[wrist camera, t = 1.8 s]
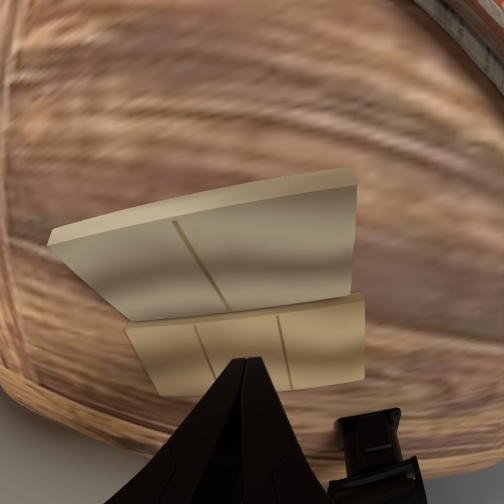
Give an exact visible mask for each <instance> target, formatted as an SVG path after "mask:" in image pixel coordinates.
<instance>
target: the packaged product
mask: <svg viewBox="0 0 504 504" xmlns="http://www.w3.org/2000/svg"><path fill="white" fill-rule="evenodd" d="M413 1H414V2H416V3H417V4H418V5H419V6H420V7H421V8H422V9H423V10H425V11H426V12H427V13H428V14H429V15H430V16H431V17H432V18H433V19H434V20H435V21H436V22H437V23H438V24H439V25H440V26H441V27H442V28H443V29H444V30H445V31H446V32H447V33H448V34H449V35H450V36H451V37H452V38H453V39H454V40H455V41H456V42H457V43H458V44H459V45H460V46H461V47H462V49H463V50H464V51H465V52H466V53H467V55H468V56H469V57H470V58H471V59H472V60H473V61H474V63H475V64H477V65H478V67H479V68H480V69H481V70H482V71H483V72H484V73H485V75H486V76H487V77H488V78H489V79H490V80H491V81H492V82H493V83H494V84H495V86H496V87H497V88H498V90H499V91H500V92H501V94H502V95H503V96H504V0H413Z"/></svg>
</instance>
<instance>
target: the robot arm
mask: <svg viewBox="0 0 504 504" xmlns="http://www.w3.org/2000/svg"><path fill="white" fill-rule="evenodd" d="M400 416H401V410H400V408H394V409H390V410H385V411H380V412H375V413H370V414H365V415H360V416H354V417H348V418H342V419H340V420H339V421H338V438H339V451H344V454H345V463H346V473H347V478H344V479H340V480H332V481H329V488H328V491H327V493H326V491H325V490H324V488H323V487H322V485H321V484H320V482H319V481H318V479H317V478H316V476H315V474H314V473H313V471H312V470H311V468H310V466H309V464H308V462H307V460H306V458H305V456H304V454H303V452H302V449H301V447H300V445H299V443H298V441H297V438H296V436H295V434H294V431H293V429H292V427H291V424H290V422H289V420H288V418H287V415H286V413H285V411H284V408H283V406H282V404H281V401H280V399H279V397H278V394H277V392H276V389H275V387H274V385H273V382H272V380H271V378H270V375H269V373H268V370H267V368H266V366H265V363H264V361H263V359H262V357H261V356H254V357H248V358H245V357H241V358H233V359H231V360H230V362H229V363H228V364H227V366H226V367H225V368H224V370H223V371H222V372H221V374H220V375H219V376H218V377H217V379H216V380H215V381H214V383H213V384H212V385H211V387H210V388H209V389H208V390H207V392H206V393H205V394H204V395H203V397H202V398H201V399H200V401H199V402H198V403H197V404H196V406H195V407H194V408H193V409H192V411H191V412H190V413H189V414H188V416H187V417H186V418H185V419H184V421H183V422H182V423H181V424H180V426H179V427H178V428H177V429H176V431H175V432H174V433H173V434H172V435H171V437H170V438H169V439H168V440H167V443H165V444H164V445H163V446H162V447H161V449H160V450H159V451H158V452H157V453H156V455H155V456H154V457H153V458H152V459H151V460H150V461H149V462H148V463H147V465H146V466H145V467H144V468H143V469H142V470H140V472H138V474H136V476H134V477H133V478H132V479H131V480H130V481H129V482H128V483H127V484H126V485H124V486H123V487H122V488H121V489H120V490H119V491H118V492H117V493H116V494H114V495H113V496H112V497H111V498H110V499H109V500H107V501H106V502H105V503H104V504H427V498H426V494H425V489H424V485H423V481H422V477H421V473H420V469H419V465H418V461H417V457H416V455H415V456H413V457H411V458H410V459H407V460H404V461H403V458H402V453H401V449H400V445H399V441H398V437H397V429H398V425H399V420H400ZM413 478H416V479H413Z"/></svg>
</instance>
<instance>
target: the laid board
mask: <svg viewBox="0 0 504 504" xmlns="http://www.w3.org/2000/svg"><path fill="white" fill-rule="evenodd" d="M125 331H126V333H127V335H128V337H129V339H130V341H131V343H132V345H133V347H134V349H135V351H136V353H137V355H138V357H139V359H140V360H141V362H142V364H143V366H144V368H145V370H146V371H147V373H148V375H149V377H150V379H151V380H152V382H153V384H154V386H155V387H156V389H157V391H158V393H159V394H160V396H203V395H204V394H205V393H206V392H207V390H208V389H209V388H210V387H211V385H212V384H213V383H214V381H215V380H216V379H217V377H218V376H219V375H220V374H221V372H222V371H223V370H224V368H225V367H226V366H227V364H228V363H229V362H230V360H231V359H233V358H241V357H245V358H248V357H254V356H261V357H262V359H263V361H264V363H265V366H266V368H267V370H268V373H269V375H270V378H271V380H272V382H273V385H274V387H275V389H276V391H286V390H295V389H304V388H312V387H319V386H326V385H333V384H340V383H346V382H352V381H358V380H363V379H364V370H365V301H364V298H363V295H362V293H361V292H356V293H350V295H348V296H342V297H335V298H329V299H323V300H316V301H309V302H303V303H296V304H289V305H281V306H274V307H266V308H259V309H251V310H243V311H234V312H226V313H217V314H208V315H198V316H188V317H178V318H167V319H156V320H144V321H131V320H130V321H129V322H128V324H127V326H126V327H125Z"/></svg>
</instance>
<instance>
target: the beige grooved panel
mask: <svg viewBox="0 0 504 504" xmlns="http://www.w3.org/2000/svg"><path fill="white" fill-rule="evenodd" d="M356 199H357V184H356V181H355V178H354V176H353V173H352V170H351V168H350V166H349V167H342V168H335V169H328V170H321V171H315V172H308V173H302V174H295V175H289V176H283V177H277V178H272V179H266V180H260V181H255V182H249V183H244V184H239V185H233V186H228V187H223V188H218V189H213V190H208V191H204V192H199V193H194V194H189V195H185V196H180V197H176V198H171V199H167V200H162V201H158V202H154V203H150V204H145V205H141V206H137V207H133V208H129V209H125V210H121V211H117V212H113V213H109V214H105V215H102V216H98V217H94V218H90V219H87V220H83V221H79V222H76V223H72V224H69V225H65V226H62V227H58V228H55V229H53V230H52V233H51V236H50V238H49V241H48V244H47V247H48V248H49V249H50V250H51V251H52V252H53V253H54V254H55V255H56V256H58V257H59V258H60V259H61V260H62V261H63V262H64V263H65V264H66V265H67V266H68V267H69V268H70V269H71V270H72V271H73V272H75V273H76V274H77V275H78V276H79V277H80V278H81V279H82V280H83V281H84V282H86V283H87V284H88V285H89V286H90V287H91V288H92V289H94V290H95V291H96V292H97V293H98V294H99V295H100V296H102V297H103V298H104V299H105V300H106V301H107V302H109V303H110V304H111V305H112V306H113V307H115V308H116V309H117V310H118V311H119V312H121V313H122V314H123V315H124V316H126V317H127V318H128V319H129V320H131V321H144V320H156V319H167V318H178V317H188V316H198V315H208V314H217V313H226V312H234V311H243V310H251V309H259V308H266V307H274V306H281V305H289V304H296V303H303V302H309V301H316V300H323V299H329V298H335V297H342V296H348V295H350V289H351V279H352V267H353V254H354V240H355V222H356Z"/></svg>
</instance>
